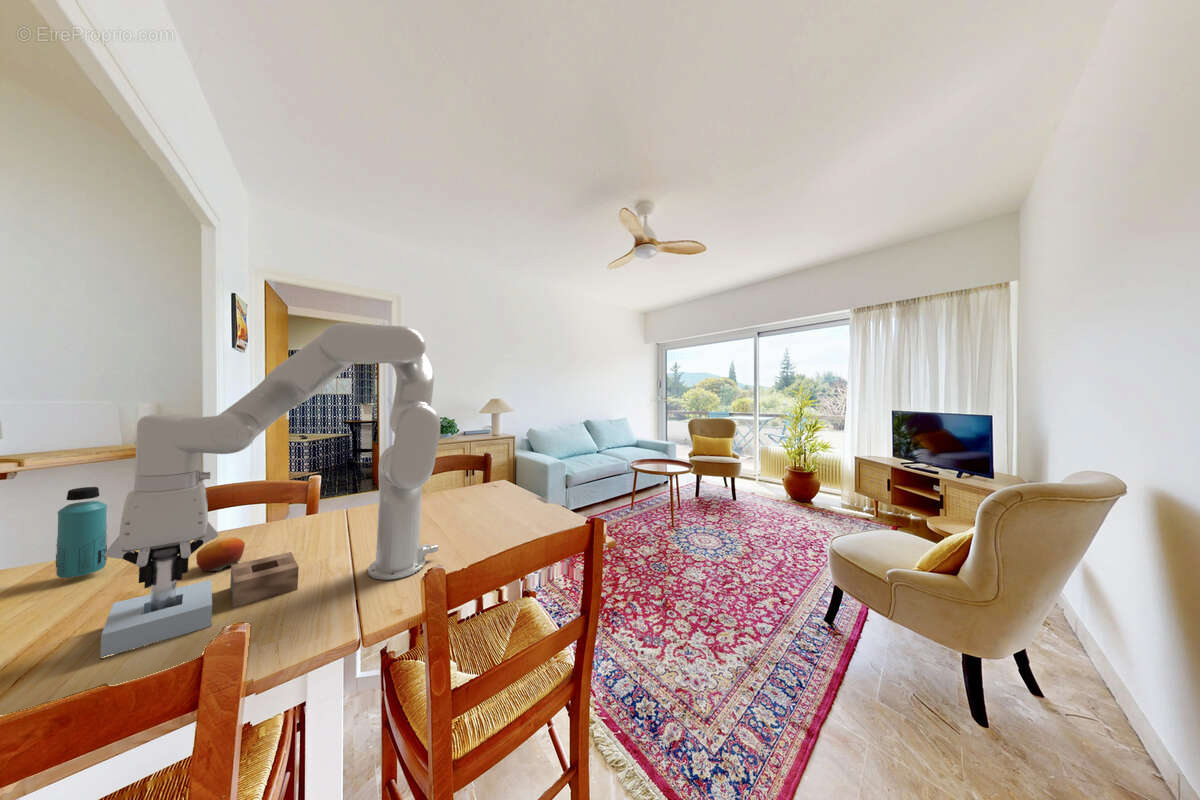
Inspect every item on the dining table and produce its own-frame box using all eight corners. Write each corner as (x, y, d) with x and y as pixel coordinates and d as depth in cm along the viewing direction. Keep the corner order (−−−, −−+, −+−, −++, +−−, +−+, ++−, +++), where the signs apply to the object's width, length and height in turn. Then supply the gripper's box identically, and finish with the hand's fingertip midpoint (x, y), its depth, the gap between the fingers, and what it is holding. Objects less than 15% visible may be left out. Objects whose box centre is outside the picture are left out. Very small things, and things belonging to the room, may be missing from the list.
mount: (290, 572, 86) (291, 551, 86) (297, 589, 79) (298, 566, 79) (230, 587, 78) (231, 565, 78) (232, 607, 71) (234, 582, 71)
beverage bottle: (103, 578, 79) (106, 488, 79) (49, 589, 74) (52, 493, 74) (109, 567, 84) (112, 482, 83) (58, 577, 79) (61, 487, 78)
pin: (178, 610, 68) (181, 540, 68) (178, 619, 66) (181, 547, 65) (146, 619, 65) (149, 546, 65) (144, 629, 63) (147, 553, 63)
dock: (210, 598, 74) (211, 579, 74) (211, 626, 66) (212, 604, 66) (112, 624, 65) (113, 602, 65) (100, 659, 57) (101, 634, 57)
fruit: (219, 572, 82) (206, 540, 82) (196, 585, 83) (184, 553, 84) (259, 557, 89) (247, 527, 90) (237, 569, 91) (226, 540, 92)
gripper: (231, 472, 74) (227, 560, 74) (95, 484, 61) (91, 589, 62) (233, 479, 69) (229, 574, 69) (86, 493, 56) (81, 608, 57)
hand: (164, 580), depth 65 cm, fingers closed on pin, 3 cm apart
